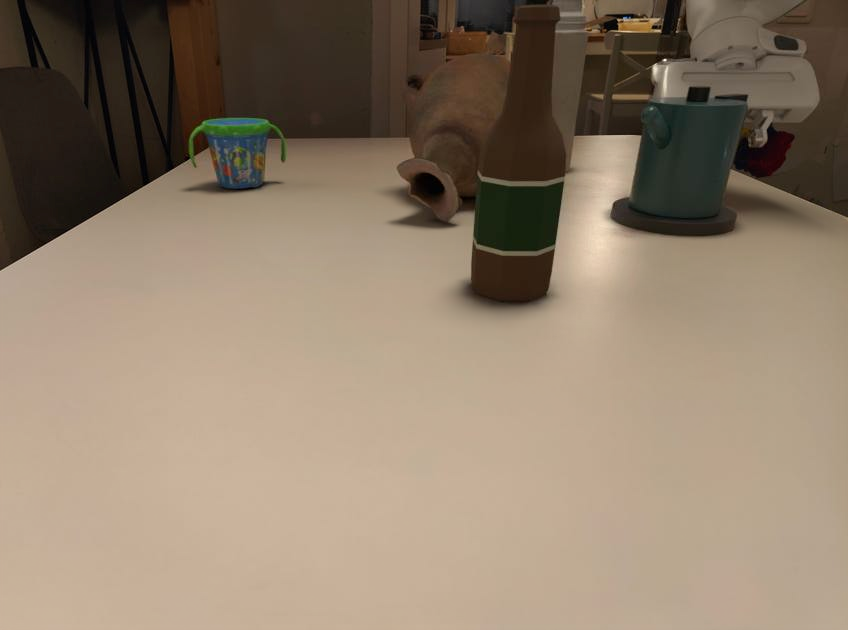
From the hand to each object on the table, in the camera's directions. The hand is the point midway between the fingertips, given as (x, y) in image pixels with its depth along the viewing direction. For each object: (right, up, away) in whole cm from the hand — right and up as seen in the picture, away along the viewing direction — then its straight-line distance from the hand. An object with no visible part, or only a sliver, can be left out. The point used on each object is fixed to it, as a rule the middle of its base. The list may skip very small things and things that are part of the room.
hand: (738, 144), depth 81 cm
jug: (-35, -5, +11) cm, 37 cm away
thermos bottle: (-16, +6, +32) cm, 36 cm away
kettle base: (-9, -10, +1) cm, 13 cm away
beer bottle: (-35, -22, -21) cm, 46 cm away
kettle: (-9, -8, 0) cm, 12 cm away
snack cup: (-70, +1, +22) cm, 73 cm away
